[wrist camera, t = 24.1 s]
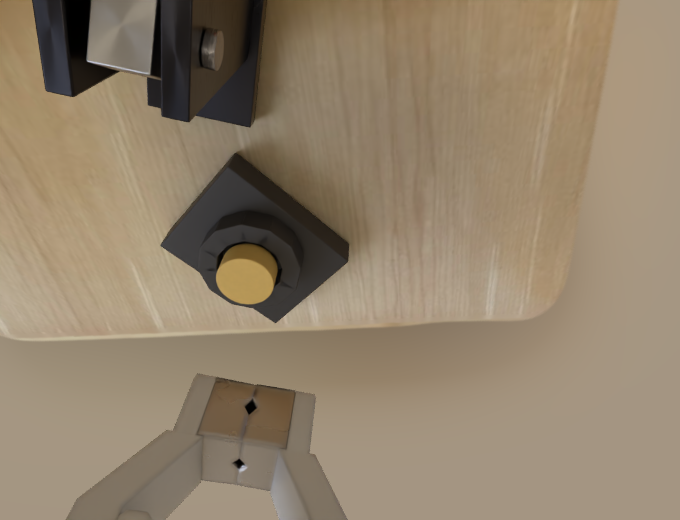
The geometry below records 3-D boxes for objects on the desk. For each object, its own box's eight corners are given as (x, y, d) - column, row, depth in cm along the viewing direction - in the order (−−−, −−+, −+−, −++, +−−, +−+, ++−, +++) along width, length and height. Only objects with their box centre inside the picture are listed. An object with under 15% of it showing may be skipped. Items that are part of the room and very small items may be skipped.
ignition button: (289, 265, 30) (285, 282, 29) (255, 296, 32) (250, 313, 30) (244, 232, 29) (238, 248, 27) (211, 266, 30) (204, 282, 29)
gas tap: (150, -163, 21) (-27, -245, 12) (280, -128, 22) (216, -179, 12) (154, 99, 28) (45, 186, 18) (254, 121, 29) (199, 216, 19)
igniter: (349, 244, 33) (348, 277, 30) (279, 304, 37) (271, 341, 34) (235, 151, 30) (220, 178, 26) (170, 229, 33) (149, 261, 30)
